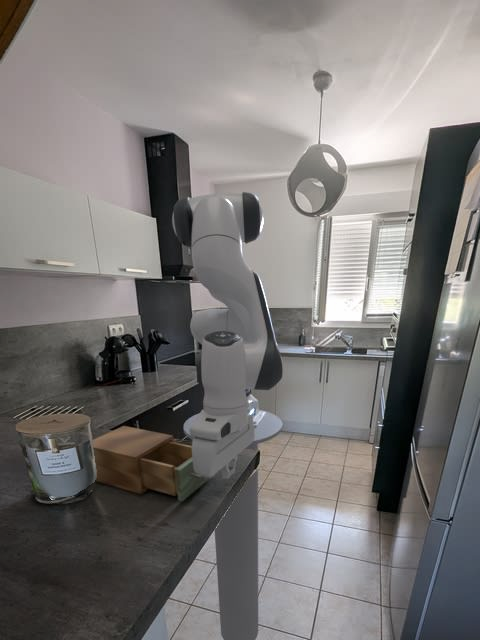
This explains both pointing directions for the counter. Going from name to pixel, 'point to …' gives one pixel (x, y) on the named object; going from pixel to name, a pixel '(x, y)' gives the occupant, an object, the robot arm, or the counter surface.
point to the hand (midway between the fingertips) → (228, 476)
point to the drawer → (170, 470)
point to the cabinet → (125, 456)
